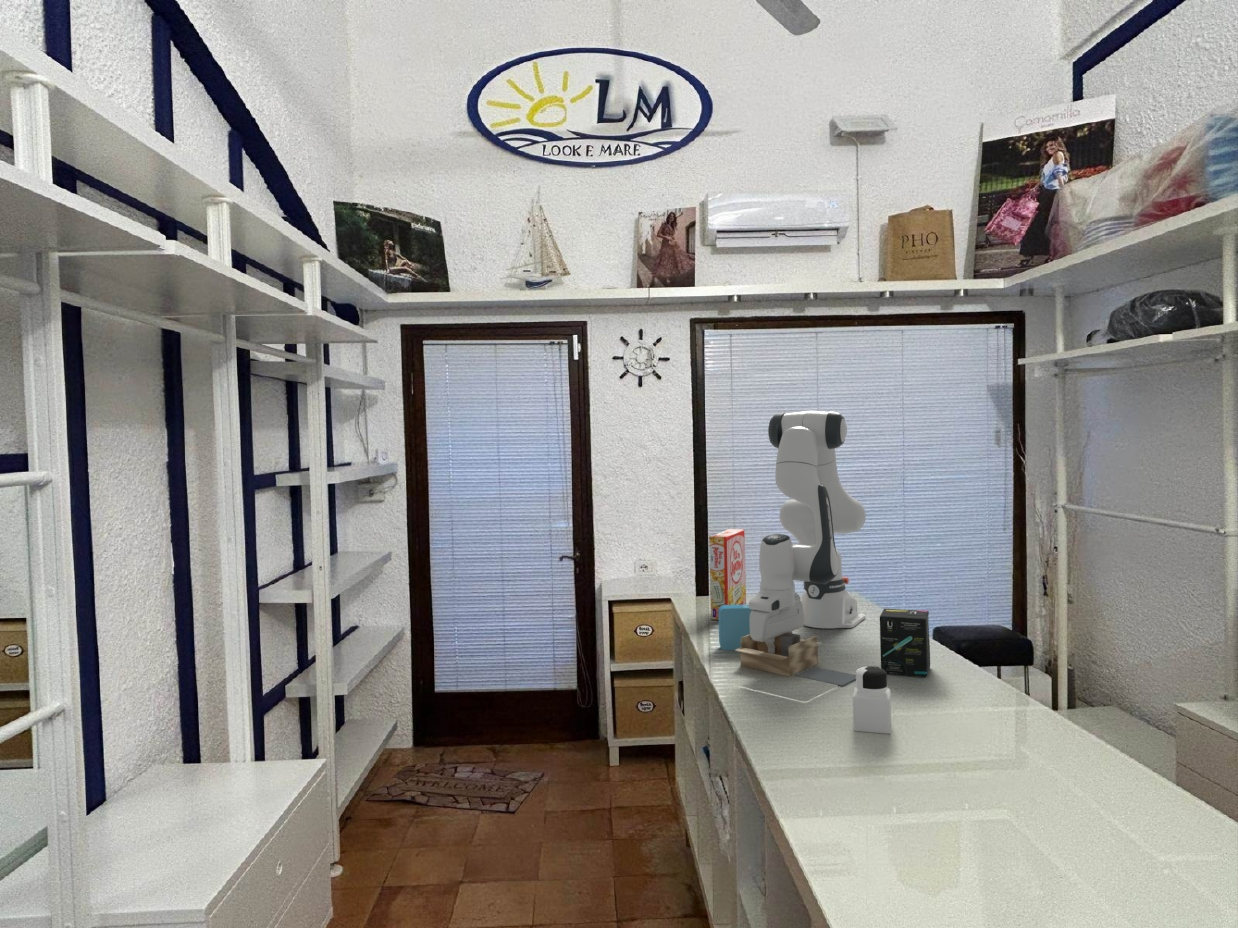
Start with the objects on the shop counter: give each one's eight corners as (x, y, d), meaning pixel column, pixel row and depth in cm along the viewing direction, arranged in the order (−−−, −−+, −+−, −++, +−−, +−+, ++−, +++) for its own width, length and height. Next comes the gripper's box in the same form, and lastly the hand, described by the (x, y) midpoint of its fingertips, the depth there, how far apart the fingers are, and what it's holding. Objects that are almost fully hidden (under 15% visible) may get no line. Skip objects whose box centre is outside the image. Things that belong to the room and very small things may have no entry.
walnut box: (767, 658, 215) (767, 628, 214) (800, 665, 208) (800, 634, 207) (758, 662, 211) (757, 632, 211) (791, 669, 204) (790, 638, 204)
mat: (813, 667, 206) (813, 666, 206) (860, 677, 197) (860, 675, 197) (794, 676, 200) (794, 674, 200) (842, 686, 191) (842, 685, 191)
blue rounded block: (762, 646, 228) (760, 603, 228) (764, 650, 224) (762, 607, 223) (719, 646, 229) (717, 604, 228) (720, 651, 225) (719, 608, 224)
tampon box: (930, 667, 203) (929, 609, 203) (927, 678, 195) (926, 618, 194) (884, 663, 208) (883, 607, 207) (880, 674, 200) (878, 615, 199)
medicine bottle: (891, 721, 168) (889, 664, 168) (890, 734, 161) (889, 675, 161) (855, 718, 170) (853, 662, 170) (853, 731, 164) (852, 672, 163)
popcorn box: (728, 621, 258) (726, 536, 257) (710, 619, 261) (707, 536, 260) (747, 607, 277) (744, 528, 275) (729, 606, 279) (727, 528, 278)
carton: (775, 652, 221) (774, 625, 221) (823, 661, 211) (822, 633, 211) (734, 668, 208) (733, 639, 208) (783, 679, 198) (782, 649, 197)
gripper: (789, 589, 218) (790, 640, 219) (744, 603, 204) (746, 657, 204) (809, 592, 214) (811, 644, 215) (765, 606, 199) (767, 662, 200)
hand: (778, 651), depth 209 cm, fingers closed on walnut box, 4 cm apart
